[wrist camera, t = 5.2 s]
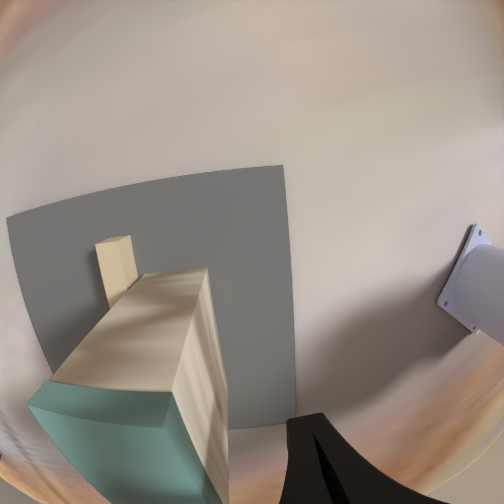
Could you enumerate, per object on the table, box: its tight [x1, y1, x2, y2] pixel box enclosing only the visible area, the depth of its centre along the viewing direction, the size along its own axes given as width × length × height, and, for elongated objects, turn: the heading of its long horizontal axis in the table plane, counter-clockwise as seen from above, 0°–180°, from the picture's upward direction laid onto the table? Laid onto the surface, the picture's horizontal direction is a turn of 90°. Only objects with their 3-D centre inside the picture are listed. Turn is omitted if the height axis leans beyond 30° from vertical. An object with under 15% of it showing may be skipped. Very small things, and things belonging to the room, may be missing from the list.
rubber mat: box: [6, 165, 296, 429], centre depth 16 cm, size 21×20×2 cm
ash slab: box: [27, 267, 229, 504], centre depth 11 cm, size 4×9×12 cm, turn 6°
